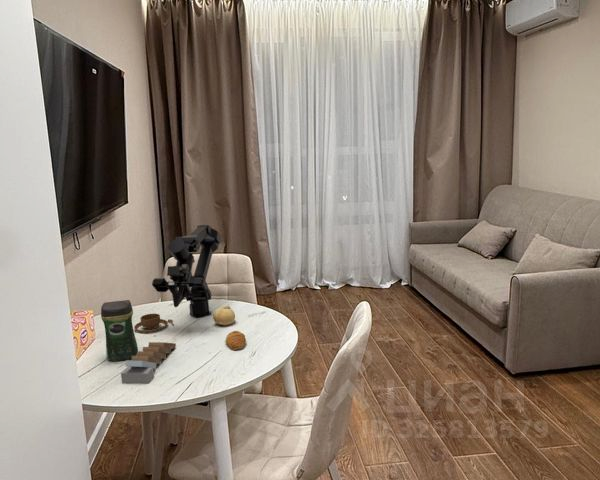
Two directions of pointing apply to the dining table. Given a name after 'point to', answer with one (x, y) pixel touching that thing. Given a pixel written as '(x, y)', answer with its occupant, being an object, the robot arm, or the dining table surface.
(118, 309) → the coffee jar
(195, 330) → the dining table surface
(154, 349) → the domino
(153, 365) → the domino
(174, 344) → the domino
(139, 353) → the domino
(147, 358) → the domino
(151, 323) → the place setting
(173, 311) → the dining table surface
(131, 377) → the stop block
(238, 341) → the pastry
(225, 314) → the onion
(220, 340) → the dining table surface
